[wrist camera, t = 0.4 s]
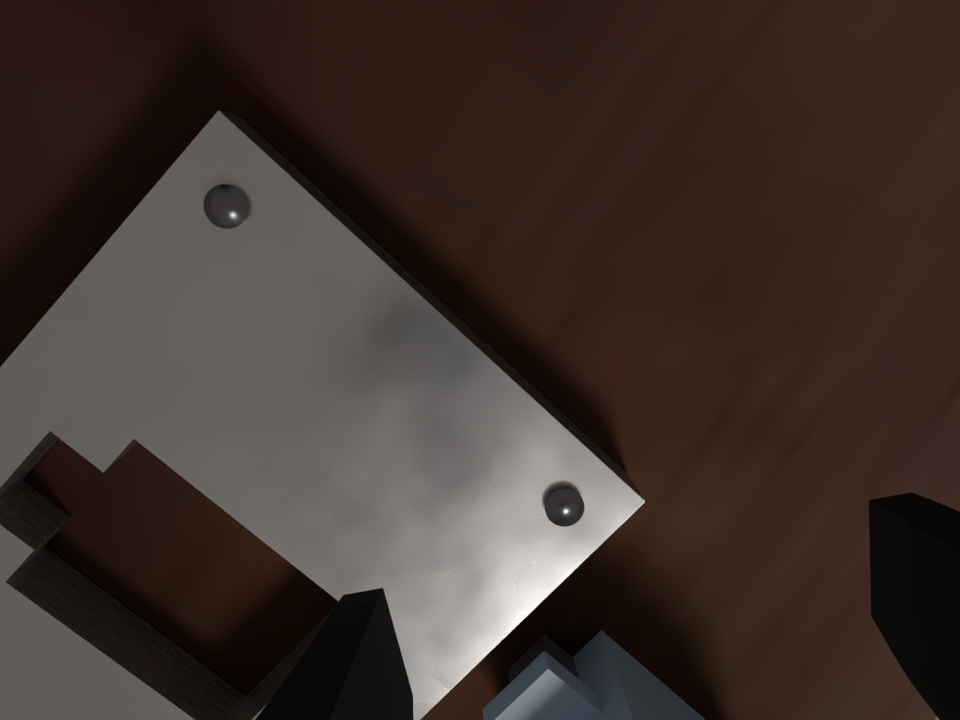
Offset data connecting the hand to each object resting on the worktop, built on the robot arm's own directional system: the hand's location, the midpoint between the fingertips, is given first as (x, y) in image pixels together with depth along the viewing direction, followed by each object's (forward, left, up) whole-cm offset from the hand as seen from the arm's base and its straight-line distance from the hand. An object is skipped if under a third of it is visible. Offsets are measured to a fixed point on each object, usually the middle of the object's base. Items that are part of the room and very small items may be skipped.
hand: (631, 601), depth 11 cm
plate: (-10, +4, -10) cm, 15 cm away
